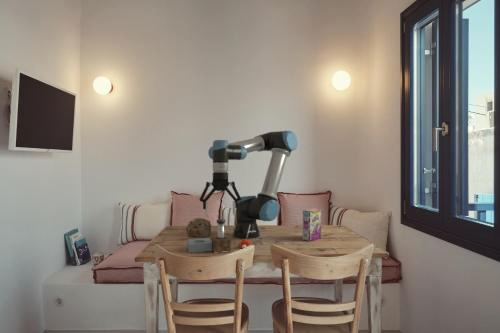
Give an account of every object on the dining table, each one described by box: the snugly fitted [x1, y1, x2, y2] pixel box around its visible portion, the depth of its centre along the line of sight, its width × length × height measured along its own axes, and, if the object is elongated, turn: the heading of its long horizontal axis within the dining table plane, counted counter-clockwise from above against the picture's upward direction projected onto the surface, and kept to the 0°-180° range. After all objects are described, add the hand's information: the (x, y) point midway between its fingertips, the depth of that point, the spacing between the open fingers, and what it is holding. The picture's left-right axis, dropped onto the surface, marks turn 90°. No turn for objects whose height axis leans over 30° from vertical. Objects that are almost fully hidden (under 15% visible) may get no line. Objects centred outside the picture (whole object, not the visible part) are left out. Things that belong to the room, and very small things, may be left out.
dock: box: [186, 237, 213, 254], centre depth 168 cm, size 11×11×4 cm
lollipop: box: [237, 225, 256, 249], centre depth 171 cm, size 6×10×12 cm, turn 95°
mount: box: [211, 235, 232, 253], centre depth 166 cm, size 8×8×6 cm
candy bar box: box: [302, 208, 322, 242], centre depth 188 cm, size 11×5×16 cm, turn 134°
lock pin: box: [216, 218, 226, 239], centre depth 166 cm, size 4×4×15 cm
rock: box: [185, 217, 212, 238], centre depth 203 cm, size 20×14×10 cm
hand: (220, 215), depth 165 cm, fingers open, 13 cm apart
